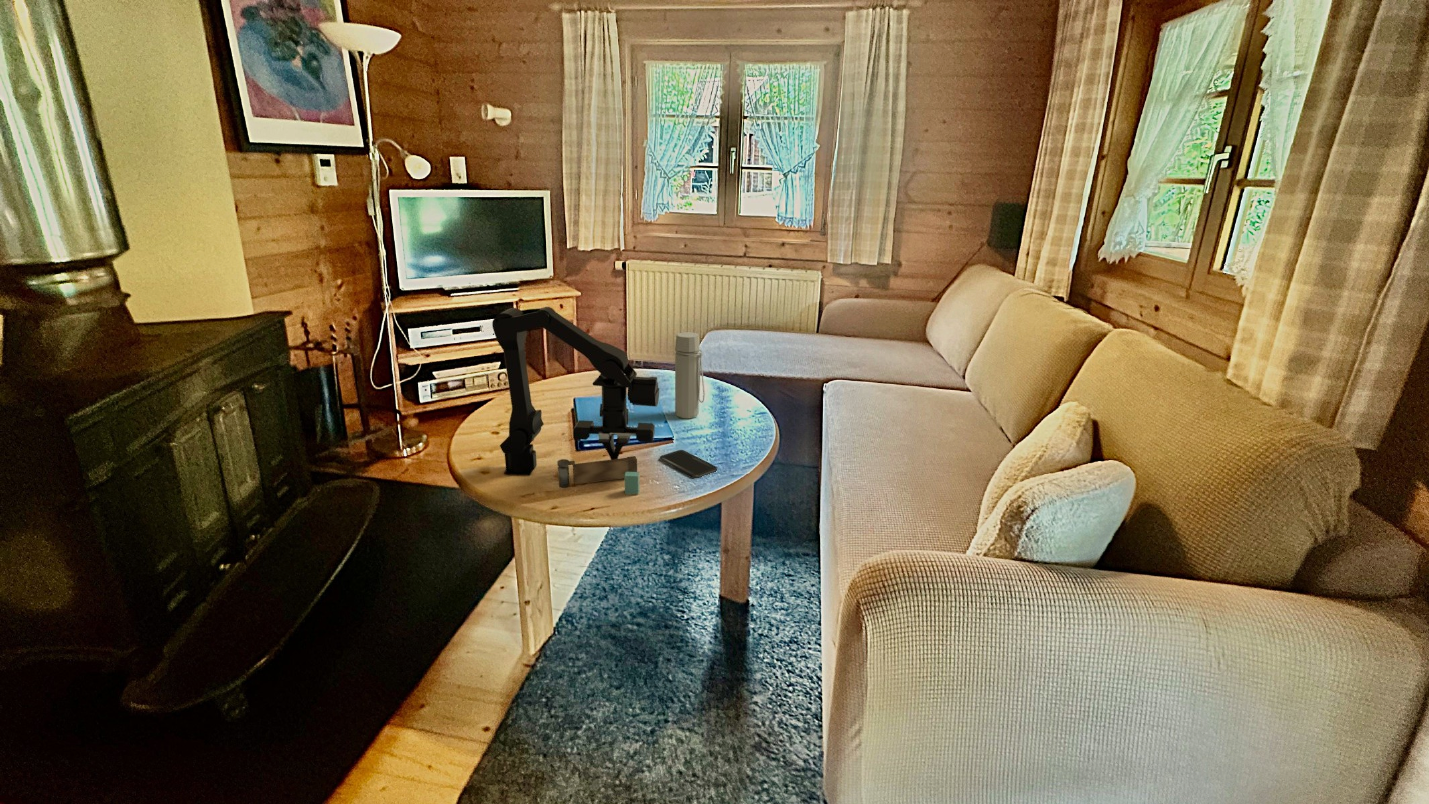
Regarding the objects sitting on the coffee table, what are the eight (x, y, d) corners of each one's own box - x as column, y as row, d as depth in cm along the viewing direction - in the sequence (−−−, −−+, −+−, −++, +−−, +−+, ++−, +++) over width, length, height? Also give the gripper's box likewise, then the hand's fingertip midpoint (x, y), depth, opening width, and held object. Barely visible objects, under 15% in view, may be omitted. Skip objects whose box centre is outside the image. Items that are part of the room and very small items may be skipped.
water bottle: (670, 417, 202) (670, 336, 194) (681, 409, 209) (681, 330, 201) (699, 422, 199) (700, 339, 191) (708, 413, 206) (710, 333, 198)
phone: (695, 476, 163) (657, 456, 174) (694, 481, 164) (658, 460, 174) (719, 468, 168) (682, 448, 179) (719, 472, 169) (682, 452, 179)
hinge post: (558, 487, 158) (557, 469, 156) (560, 483, 160) (559, 464, 159) (568, 488, 158) (567, 469, 156) (570, 483, 160) (569, 465, 159)
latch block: (625, 494, 156) (624, 475, 154) (626, 489, 158) (625, 471, 156) (638, 494, 156) (637, 476, 154) (639, 489, 158) (638, 472, 156)
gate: (559, 487, 157) (558, 464, 155) (558, 482, 160) (556, 460, 158) (637, 477, 163) (637, 455, 161) (635, 473, 166) (634, 451, 164)
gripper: (657, 393, 166) (656, 451, 172) (580, 390, 166) (582, 448, 172) (652, 409, 156) (652, 470, 161) (571, 406, 156) (573, 467, 161)
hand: (614, 463), depth 164 cm, fingers closed
